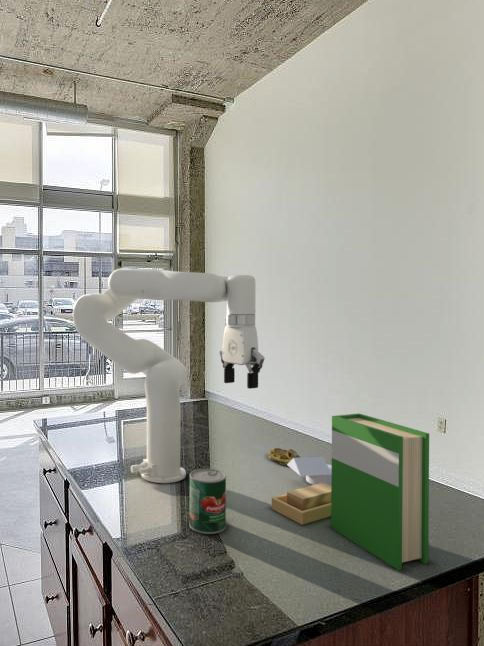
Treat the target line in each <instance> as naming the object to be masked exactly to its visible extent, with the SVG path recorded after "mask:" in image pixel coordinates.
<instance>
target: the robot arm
mask: <svg viewBox="0 0 484 646" xmlns="http://www.w3.org/2000/svg"><path fill="white" fill-rule="evenodd" d="M107 285H108V288H106V289H105V290H104V291H103V292H101V293H96V292H93V293H92V292H91V293H85V294H83V295H81V296H80V297H78V298H77V299H76V301H75V302H74V305H73V308H72V321H73V325H74V327H75V329H76V332H77V333H78V334H79V336H80V337H81V338H82V339H83V340H84V341H85V342H86V343H87V344H89V345H90V346H91V347H93V348H94V349H96V350H97V351H98V352H99V353H101V354H102V355H103V356H105V357H106V358H107V359H108V360H110V361H111V362H113V363H114V364H116V365H117V366H118V367H120V368H121V369H122V370H123V371H125V372H126V373H129V374H133V375H135V374H140V373H143V374H144V375H145V377H144V393H145V401H146V458H143V459H142V462H141V463H139V464H134V465H130V467H129V468H130V469H129V470H130V473H132V474H134V473H139V475H140V476H141V478H142V479H143V480H145V481H148V482H151V483H155V484H171V483H177V482H180V481H182V480H184V479H185V478H186V477H187V470H186V469H185V468H184V467H182V466H181V452H182V451H181V449H182V448H181V443H182V441H181V439H182V438H181V437H182V436H181V434H182V433H181V431H182V429H181V428H182V426H181V425H182V424H181V423H182V410H181V409H182V407H181V399H180V398H181V397H180V390H181V389H182V388H183V387H184V386H185V385H186V383H187V380H188V371H187V368H186V367H185V365H184V364H183V363H182V361H180V360H179V359H178V358H176V357H175V356H173V355H172V354H170V353H169V352H168V351H166V350H164V348H162V347H160V346H159V345H158V344H156V343H155V342H153V341H151V340H149V339H147V338H146V339H145V338H137V339H136V338H133V337H131V336H130V335H128V334H126V333H125V332H124V331H122V330H121V329H120V328H119V327H117V326H115V325H113V324H111V323H110V322H109V321H111V320H113V319H115V318H116V317H117V316H119V315H120V314H121V313H122V312H123V311H124V310H125V309H127V308H128V307H129V306H130V305H131V304H133V303H134V302H136V300H137V299H138V300H149V301H163V302H166V301H186V302H188V301H189V302H202V303H203V302H204V303H221V302H226V326H225V327H224V330H223V331H224V332H223V338H222V349H221V350H220V351H219V355H220V362H221V363H222V369H223V383H224V384H232V383H235V376H236V375H235V374H236V373H235V372H236V370H235V367H234V366H235V365H238V366H244V365H245V367H246V369H247V371H248V372H247V374H246V381H247V382H246V388H247V389H252V390H253V389H258V388H259V373H261V370H262V368H263V364H264V362H265V359H266V357H265V356H264V355H263V354H262V353H261V352H259V339H258V338H259V337H258V331H257V326H256V287H257V286H256V285H257V284H256V278H255V277H254V276H253V275H251V274H250V275H249V274H233V275H229V276H222V275H217V274H216V273H210V272H195V271H194V272H193V271H175V270H174V271H173V270H167V269H150V268H149V269H148V268H133V267H132V268H130V267H122V268H117V269H115V270H113V271H112V272H111V274H110V275H109V276H108V281H107Z"/></svg>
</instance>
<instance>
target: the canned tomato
mask: <svg viewBox="0 0 484 646" xmlns="http://www.w3.org/2000/svg"><path fill="white" fill-rule="evenodd" d="M226 501H227V475H226V473H225V472H223V471H221V470H219V469H216V468H215V469H214V468H198V469H194V470H192V471H191V472H190V473H189V510H188V511H189V512H188V513H189V517H188V518H189V519H188V520H189V523H188V525H189V528H190V529H191V530H192V531H193V532H196V533H198V534H204V535H214V534H219V533H221V532H223V531H224V530H226V527H227V524H226V523H227V522H226V521H227V519H226V518H227V517H226V514H227V512H226V511H227V510H226V509H227V508H226V507H227V506H226V505H227V504H226V503H227V502H226Z"/></svg>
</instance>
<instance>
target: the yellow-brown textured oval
mask: <svg viewBox="0 0 484 646" xmlns="http://www.w3.org/2000/svg"><path fill="white" fill-rule="evenodd" d="M300 457H301V456H300V454H298V453H297V451H295V450H294V449H292V448H288V449H282V448H279V447H274V448H271V450H269V451H268V453H267V458H268V459H269V460H271V461H272V462H275V463H277V464H278V465H282V466H286V467H289V466H288V465H287V464H288V463H289V462H290V461H291V460H292V459H293V458H300Z"/></svg>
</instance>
